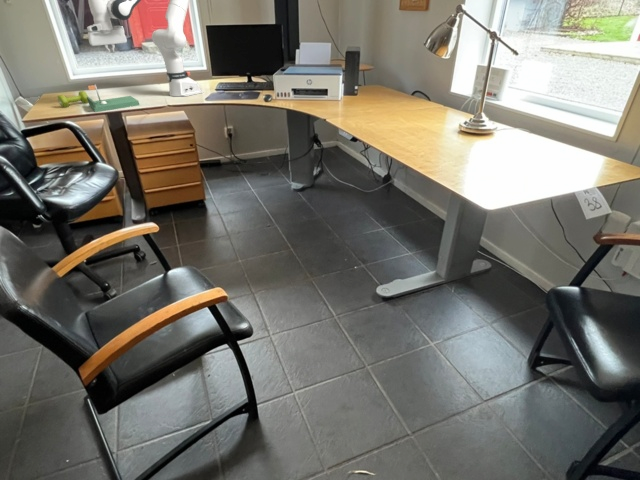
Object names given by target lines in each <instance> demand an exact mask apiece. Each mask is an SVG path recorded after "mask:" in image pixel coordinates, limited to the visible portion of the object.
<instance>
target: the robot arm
mask: <svg viewBox="0 0 640 480" xmlns="http://www.w3.org/2000/svg"><path fill="white" fill-rule="evenodd" d="M141 1H142V0H87V2H88V5H89V9H90V13H91V15H92V17H93V24H90V25H89V26H87V27H86V30H87V31H88V32H87V38H88V43H89V45H90V46H92V47H98V46H104V48H105V49H106V50H107V51H108V54H114V53H115V46H116V44H117V45H119V44H127V42H128V40H127V36H126V34H125V28H124V27H123V26H121V25H113V24H112V21H111V19H113V20H114V19H115V20H120V21H127V20H129V19H130V18H131V16H132V15H133V14H132V13H133V11H134V8H135V7H136V6H137V5H138V4H139V3H140V2H141ZM189 2H190V1H189V0H169V1H168V4H167V5H168V6H167V9H166V12H165V16H164V17H165V20H166V21H167V27H166V28H158V29H156V30H154V31H153V32H152V35H151V41H152V43H153V44H154V45H155V46H156V47H157V49H158V50H159V52H160V54H161V56H162V58H163V61H164V65H165V68H166V69H165V70H166V77H167V81H168V85H169V86H168V87H169V96H171V97H188V96H189V97H190V96H194V95H199V94H203V93H204V90H203V89H202V88H200V85H199V84H198V82H197V81H196V80H194V79H192V77H189V76H191V72H190V71H187V70H185V68H184V63H183V58H182V57H181V56H180V55H179V53H178V52H177V50H180V49H183V48H185V47H186V45H187V38H186V35H185V33H184V24H185V21H186V16H187V13H188V8H189ZM109 45H110V46H111V49H110V48H109Z"/></svg>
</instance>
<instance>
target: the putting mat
mask: <svg viewBox="0 0 640 480" xmlns="http://www.w3.org/2000/svg"><path fill="white" fill-rule="evenodd" d="M87 88H88V90H89V91H95V90H96V91H95V92H96V94H97V98H98V100H93V99H92V98H90V97H89V96H88V97H87V100H88V103H87V104H88V105H89V107H90V109H92V110H93V111H94V112H95V113H99V112H106V111H110V110H118V109H124V108H130V106H131V107H136V106H140V102H139V100H138V99H136V98H135V97H133V96H131V95H129V96H128V95H127V96H121V97H114V98H108V99H101V97H100V94H99V90H98V88H97V84H94V85H93V84H92V85H87ZM102 101H105V102H107V103H106V104H101V102H102Z"/></svg>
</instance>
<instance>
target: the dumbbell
mask: <svg viewBox="0 0 640 480" xmlns="http://www.w3.org/2000/svg"><path fill="white" fill-rule="evenodd" d="M87 97H89V95H88V94H87V92H86V91H84V90H81V91H78V95H75V96H69V97H66V96H65V95H64V94H58V95H57V101H58V103H59V105H60V106H61V107H62V108H64V109H65V108H69V107H70V104H71V103H75V102H81V103H83V104H89V103H88V100H87Z"/></svg>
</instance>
